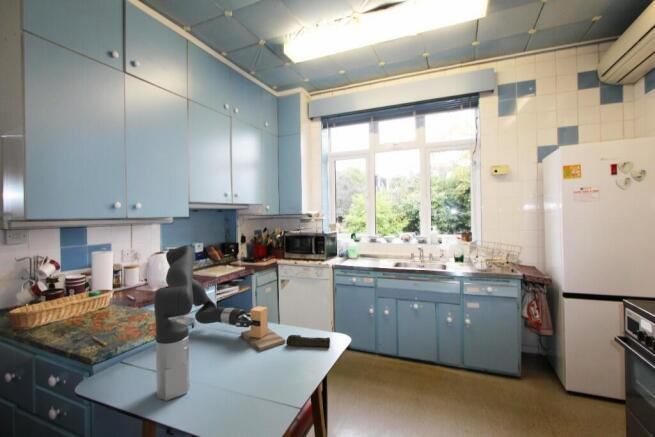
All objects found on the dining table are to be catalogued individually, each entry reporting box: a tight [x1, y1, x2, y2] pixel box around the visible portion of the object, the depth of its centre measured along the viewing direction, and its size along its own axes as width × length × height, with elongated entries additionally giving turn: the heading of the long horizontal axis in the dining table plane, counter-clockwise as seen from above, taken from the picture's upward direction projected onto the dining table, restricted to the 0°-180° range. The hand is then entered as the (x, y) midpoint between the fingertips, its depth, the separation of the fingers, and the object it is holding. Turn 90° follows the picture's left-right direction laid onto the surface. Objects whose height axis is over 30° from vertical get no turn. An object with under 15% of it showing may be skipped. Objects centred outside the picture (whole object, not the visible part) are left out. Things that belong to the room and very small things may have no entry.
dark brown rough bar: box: [285, 334, 331, 349], centre depth 121 cm, size 19×4×5 cm, turn 83°
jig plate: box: [240, 328, 286, 352], centre depth 128 cm, size 20×12×5 cm, turn 39°
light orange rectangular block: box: [249, 305, 269, 338], centre depth 128 cm, size 5×5×12 cm
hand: (263, 321), depth 127 cm, fingers closed on light orange rectangular block, 5 cm apart
